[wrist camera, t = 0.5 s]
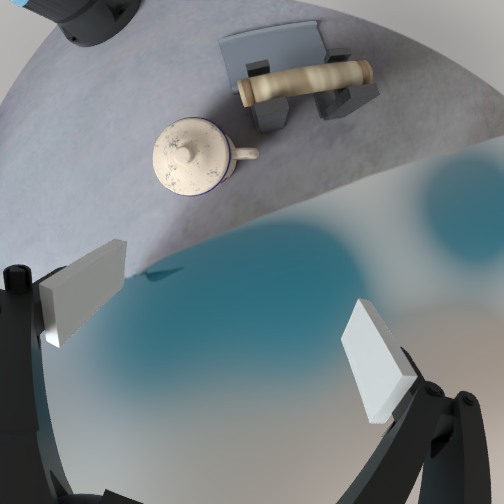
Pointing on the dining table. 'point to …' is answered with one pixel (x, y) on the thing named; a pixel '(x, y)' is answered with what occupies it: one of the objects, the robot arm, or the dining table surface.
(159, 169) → the teacup with lid
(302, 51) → the tray
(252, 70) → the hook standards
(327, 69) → the wooden cylinder
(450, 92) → the dining table surface
